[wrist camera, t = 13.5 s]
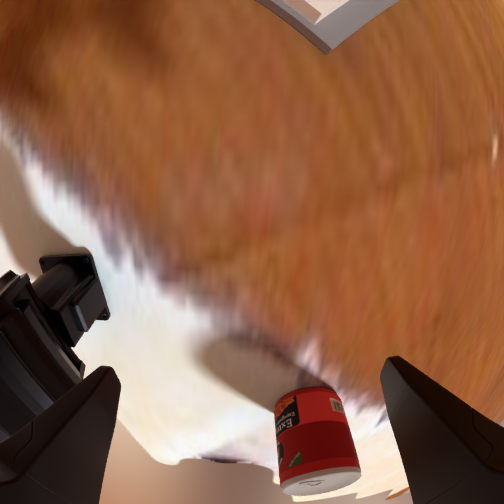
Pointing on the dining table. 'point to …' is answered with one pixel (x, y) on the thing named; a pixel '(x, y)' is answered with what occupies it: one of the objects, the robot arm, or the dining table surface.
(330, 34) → the ridge block
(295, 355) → the dining table surface
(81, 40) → the dining table surface
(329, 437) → the canned food
